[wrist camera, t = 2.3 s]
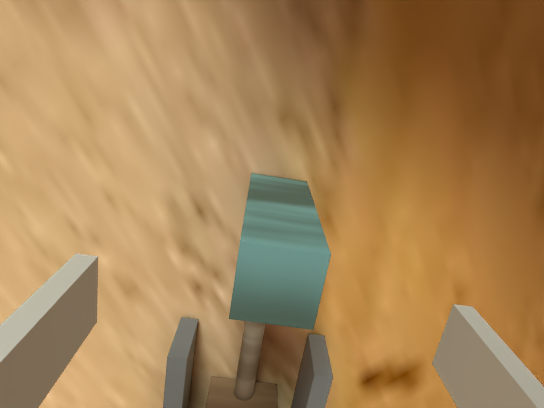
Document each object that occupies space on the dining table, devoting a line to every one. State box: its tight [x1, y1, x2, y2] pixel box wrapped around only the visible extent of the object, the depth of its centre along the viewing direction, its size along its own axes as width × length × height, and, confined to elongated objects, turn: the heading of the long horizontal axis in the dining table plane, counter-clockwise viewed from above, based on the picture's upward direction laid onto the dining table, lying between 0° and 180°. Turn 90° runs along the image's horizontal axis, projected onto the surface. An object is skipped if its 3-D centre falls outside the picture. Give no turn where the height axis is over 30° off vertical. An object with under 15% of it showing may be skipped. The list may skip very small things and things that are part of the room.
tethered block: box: [206, 173, 331, 408], centre depth 23 cm, size 22×5×10 cm, turn 171°
